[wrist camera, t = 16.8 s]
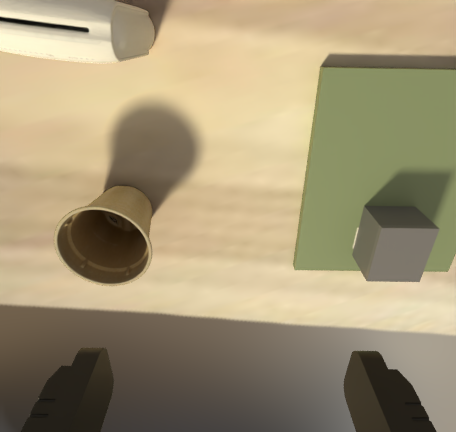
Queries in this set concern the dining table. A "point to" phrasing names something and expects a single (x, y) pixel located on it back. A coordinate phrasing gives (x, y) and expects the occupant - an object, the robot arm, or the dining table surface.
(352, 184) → the board
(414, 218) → the block
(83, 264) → the flower pot
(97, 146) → the dining table surface
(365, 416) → the robot arm
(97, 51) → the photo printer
